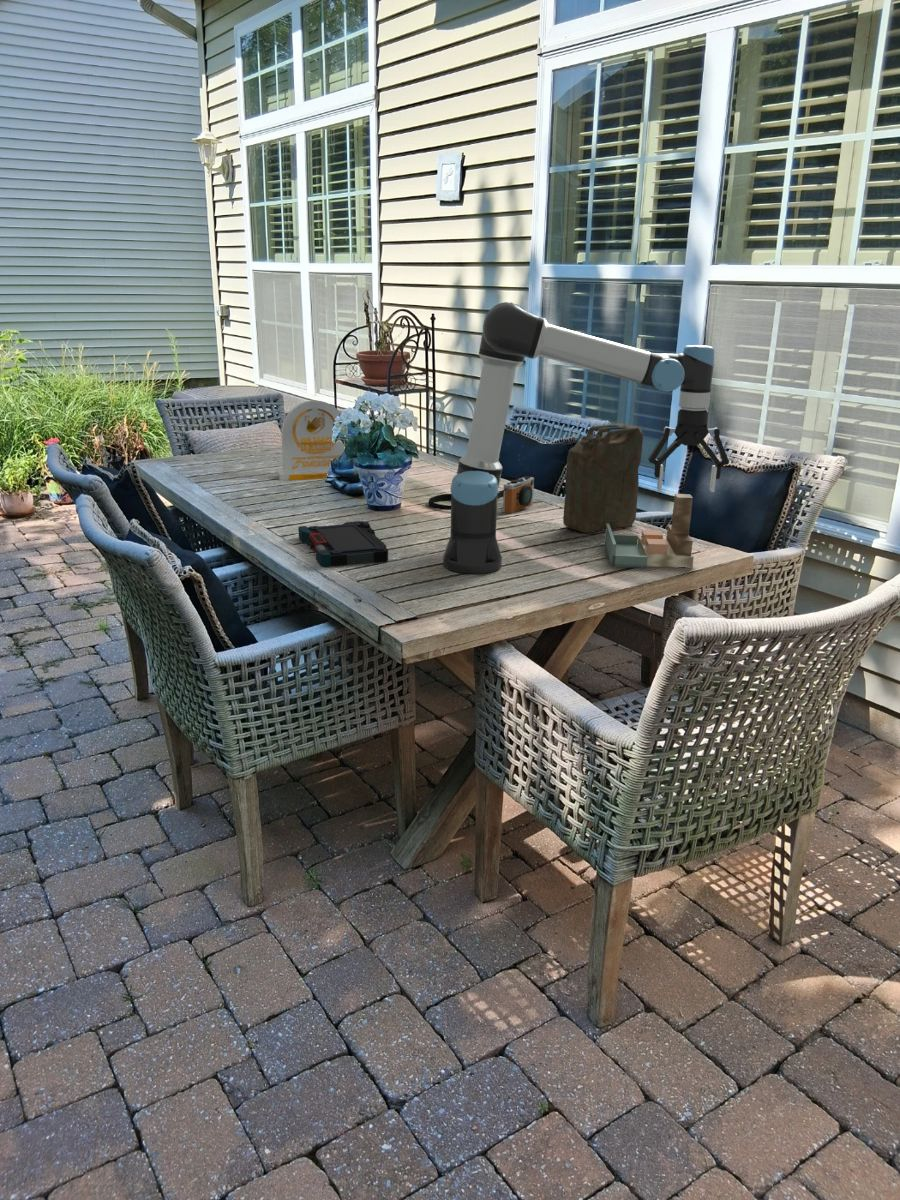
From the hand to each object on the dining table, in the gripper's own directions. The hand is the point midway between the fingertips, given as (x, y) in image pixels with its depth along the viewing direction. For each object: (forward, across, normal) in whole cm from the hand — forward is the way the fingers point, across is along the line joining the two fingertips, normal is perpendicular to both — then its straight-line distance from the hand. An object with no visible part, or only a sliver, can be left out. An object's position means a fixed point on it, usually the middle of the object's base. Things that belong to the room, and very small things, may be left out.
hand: (685, 490), depth 233 cm
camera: (+18, +55, -53) cm, 78 cm away
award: (+18, +118, -87) cm, 148 cm away
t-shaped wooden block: (+15, 0, 0) cm, 15 cm away
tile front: (+15, +7, +4) cm, 17 cm away
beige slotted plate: (+18, +4, 0) cm, 19 cm away
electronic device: (+18, +91, +3) cm, 93 cm away
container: (+18, +19, -30) cm, 40 cm away
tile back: (+15, +7, -4) cm, 17 cm away
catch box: (+18, +14, 0) cm, 23 cm away
